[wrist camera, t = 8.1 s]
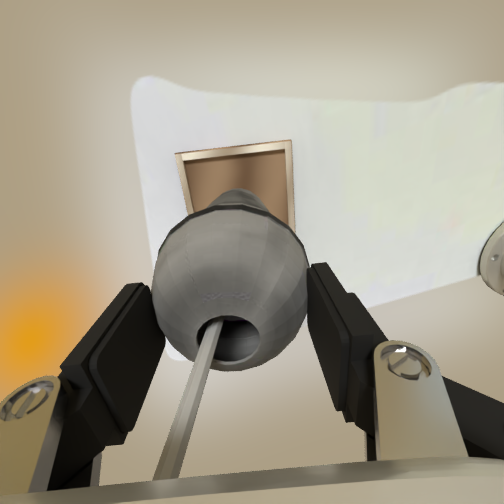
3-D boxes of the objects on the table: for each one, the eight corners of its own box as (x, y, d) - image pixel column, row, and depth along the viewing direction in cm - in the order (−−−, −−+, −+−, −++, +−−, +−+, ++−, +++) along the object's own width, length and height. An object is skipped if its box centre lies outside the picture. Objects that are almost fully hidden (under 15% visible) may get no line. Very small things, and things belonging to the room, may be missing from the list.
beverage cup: (284, 243, 24) (416, 595, 5) (209, 257, 24) (97, 628, 6) (273, 163, 21) (480, 346, 2) (187, 180, 21) (-181, 446, 3)
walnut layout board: (289, 139, 24) (292, 139, 23) (295, 287, 31) (298, 294, 30) (177, 152, 25) (173, 153, 23) (208, 296, 32) (206, 304, 30)
